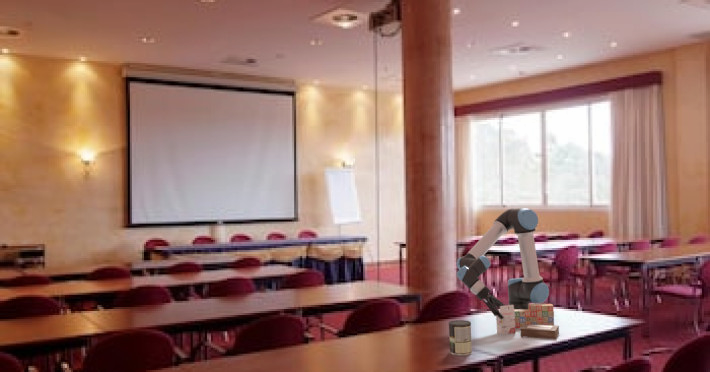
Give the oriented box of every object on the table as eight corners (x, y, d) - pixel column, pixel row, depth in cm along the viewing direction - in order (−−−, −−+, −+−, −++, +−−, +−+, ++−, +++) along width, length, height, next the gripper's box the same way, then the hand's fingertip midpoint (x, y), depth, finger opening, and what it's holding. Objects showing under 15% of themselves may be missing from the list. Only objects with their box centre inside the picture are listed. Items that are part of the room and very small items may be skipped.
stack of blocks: (513, 328, 343) (513, 305, 343) (512, 326, 349) (511, 303, 350) (554, 328, 341) (553, 305, 341) (552, 325, 347) (551, 303, 347)
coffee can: (445, 353, 293) (444, 323, 294) (456, 349, 301) (455, 319, 302) (465, 356, 287) (463, 325, 287) (476, 351, 295) (475, 321, 295)
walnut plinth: (525, 331, 334) (525, 323, 334) (558, 333, 327) (558, 325, 327) (520, 336, 322) (520, 328, 322) (555, 338, 315) (555, 330, 315)
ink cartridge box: (511, 331, 336) (509, 303, 337) (515, 332, 332) (514, 304, 332) (496, 332, 334) (495, 304, 334) (501, 334, 329) (499, 306, 330)
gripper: (481, 292, 351) (510, 320, 344) (469, 299, 329) (500, 330, 322) (490, 282, 349) (519, 311, 342) (479, 289, 327) (510, 320, 320)
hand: (510, 320), depth 332 cm, fingers open, 12 cm apart
